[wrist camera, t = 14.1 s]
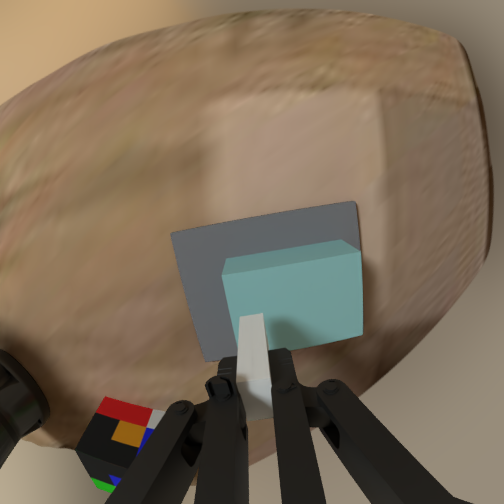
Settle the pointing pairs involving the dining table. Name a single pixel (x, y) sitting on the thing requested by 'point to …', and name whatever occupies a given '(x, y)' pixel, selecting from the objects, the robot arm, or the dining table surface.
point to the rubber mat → (240, 244)
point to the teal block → (298, 293)
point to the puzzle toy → (115, 440)
